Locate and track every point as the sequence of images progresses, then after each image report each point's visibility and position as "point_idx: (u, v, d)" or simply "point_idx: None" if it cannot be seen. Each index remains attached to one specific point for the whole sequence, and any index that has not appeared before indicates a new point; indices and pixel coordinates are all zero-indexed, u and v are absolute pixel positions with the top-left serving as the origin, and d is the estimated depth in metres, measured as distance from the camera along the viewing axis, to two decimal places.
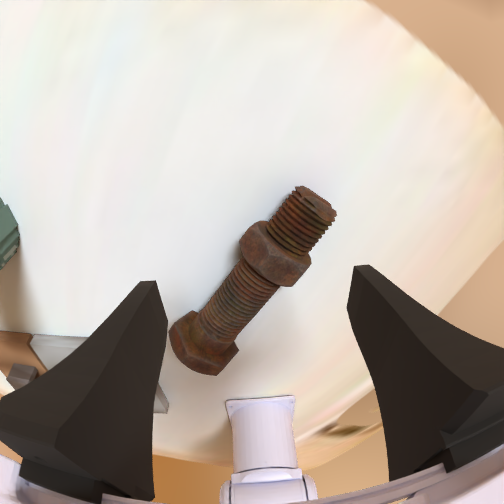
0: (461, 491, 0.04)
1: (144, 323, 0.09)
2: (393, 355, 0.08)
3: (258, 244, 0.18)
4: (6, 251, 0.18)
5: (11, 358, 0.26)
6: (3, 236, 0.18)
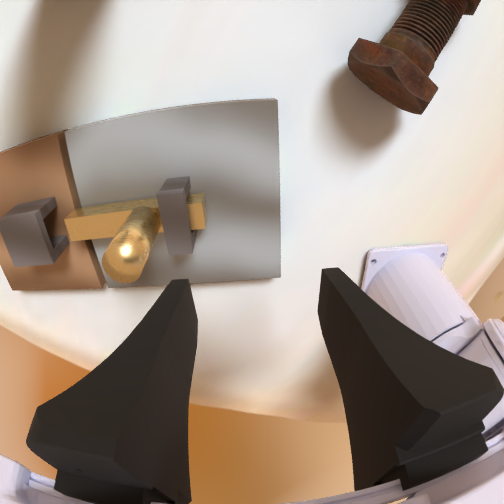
0: (461, 491, 0.04)
1: (181, 322, 0.09)
2: (355, 362, 0.08)
3: None
4: None
5: (15, 192, 0.17)
6: None
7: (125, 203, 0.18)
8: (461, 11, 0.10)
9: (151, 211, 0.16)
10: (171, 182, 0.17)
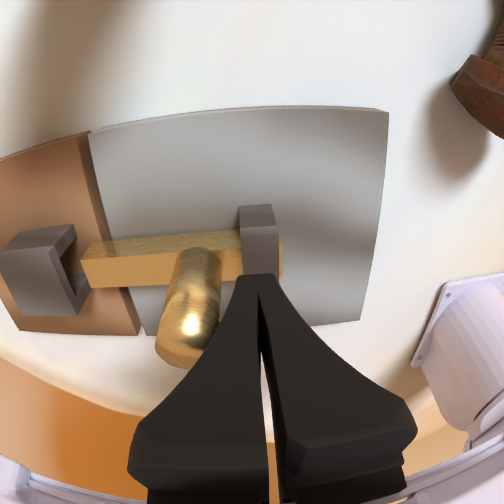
0: (461, 491, 0.04)
1: (258, 318, 0.09)
2: (270, 373, 0.08)
3: None
4: None
5: (17, 216, 0.13)
6: None
7: (167, 239, 0.13)
8: None
9: (211, 256, 0.12)
10: (249, 212, 0.13)
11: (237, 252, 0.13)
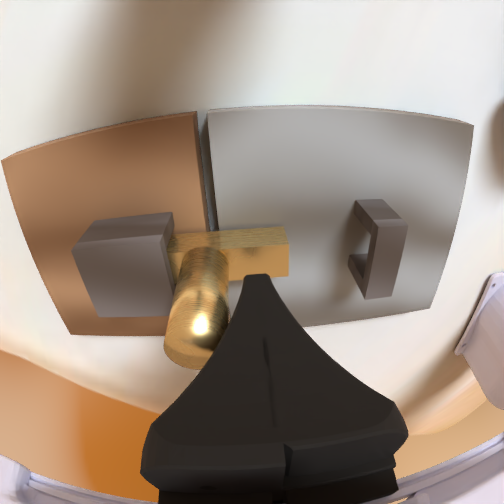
0: (461, 491, 0.04)
1: None
2: None
3: None
4: None
5: (94, 202, 0.13)
6: None
7: (173, 238, 0.13)
8: None
9: (218, 255, 0.12)
10: (369, 206, 0.13)
11: (244, 251, 0.12)
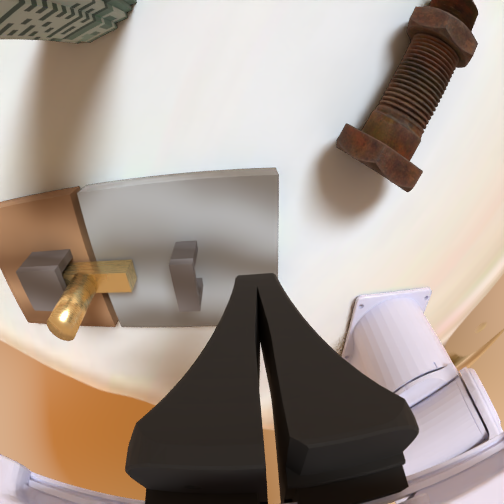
0: (461, 491, 0.04)
1: (257, 318, 0.09)
2: (271, 373, 0.08)
3: (433, 13, 0.11)
4: (120, 1, 0.11)
5: (30, 241, 0.19)
6: None
7: (71, 265, 0.20)
8: (451, 72, 0.13)
9: (87, 278, 0.18)
10: (180, 247, 0.19)
11: (102, 276, 0.19)
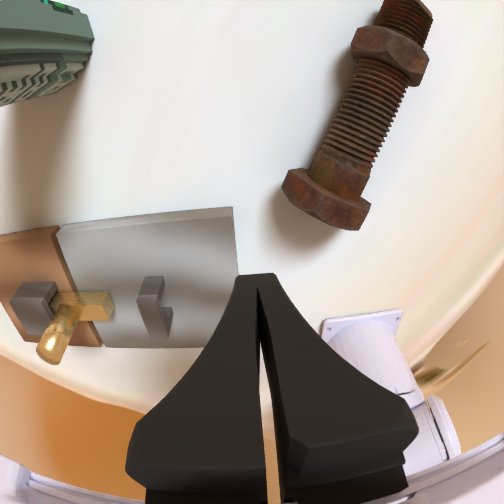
0: (461, 491, 0.04)
1: (257, 318, 0.09)
2: (272, 373, 0.08)
3: (375, 33, 0.12)
4: (73, 57, 0.12)
5: (20, 273, 0.20)
6: (78, 33, 0.12)
7: (57, 295, 0.21)
8: (400, 97, 0.14)
9: (70, 309, 0.20)
10: (148, 282, 0.21)
11: (82, 307, 0.20)
